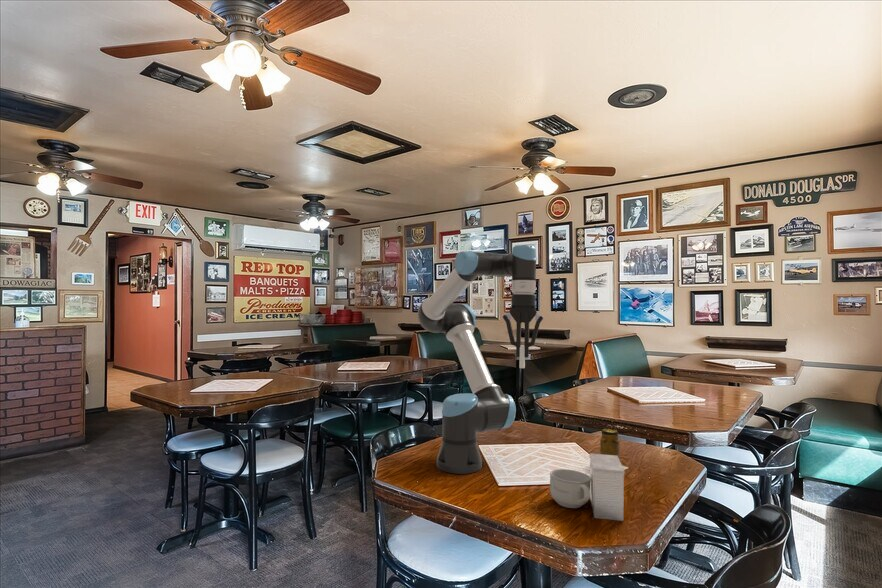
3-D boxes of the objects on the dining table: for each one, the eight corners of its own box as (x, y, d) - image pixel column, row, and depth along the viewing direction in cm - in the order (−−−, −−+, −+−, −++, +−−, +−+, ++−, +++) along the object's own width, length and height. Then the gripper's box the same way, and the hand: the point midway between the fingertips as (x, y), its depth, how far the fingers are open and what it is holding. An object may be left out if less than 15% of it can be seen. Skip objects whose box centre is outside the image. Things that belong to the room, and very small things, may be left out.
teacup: (544, 495, 132) (544, 467, 132) (581, 495, 132) (581, 467, 133) (561, 518, 118) (561, 486, 118) (602, 517, 119) (602, 486, 119)
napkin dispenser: (593, 518, 118) (593, 468, 118) (589, 498, 130) (589, 453, 130) (624, 521, 116) (624, 471, 117) (617, 501, 128) (617, 455, 129)
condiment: (606, 461, 162) (606, 426, 162) (629, 468, 155) (629, 432, 155) (594, 465, 157) (594, 430, 157) (617, 473, 150) (617, 436, 151)
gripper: (501, 293, 146) (500, 368, 146) (543, 294, 143) (542, 370, 142) (504, 293, 153) (503, 364, 153) (544, 294, 150) (543, 367, 150)
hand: (522, 367), depth 148 cm, fingers closed
